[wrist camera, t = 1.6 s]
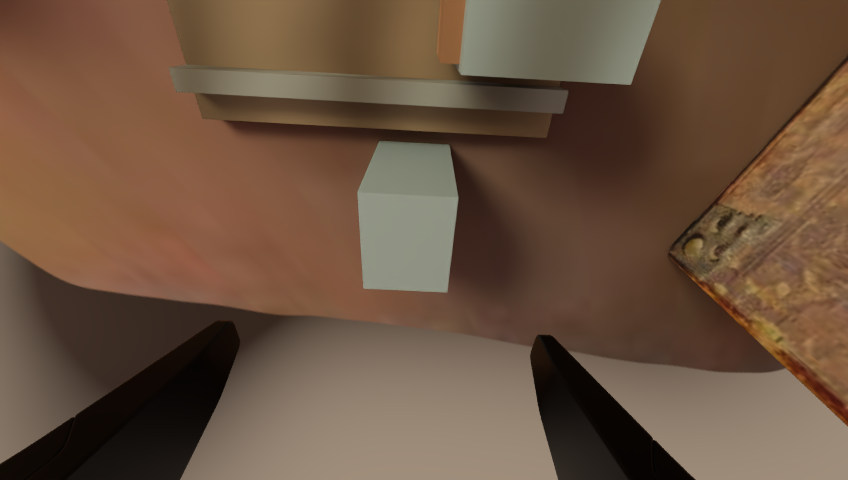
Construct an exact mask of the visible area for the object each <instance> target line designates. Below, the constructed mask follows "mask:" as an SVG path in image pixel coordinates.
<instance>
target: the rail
mask: <svg viewBox="0 0 848 480" xmlns="http://www.w3.org/2000/svg"><path fill="white" fill-rule="evenodd" d="M660 1H661V0H167V2H168V5H169V9H170V12H171V15H172V19H173V22H174V25H175V29H176V32H177V35H178V39H179V42H180V45H181V49H182V52H183V55H184V59H185V62H186V65H181V66H175V67H169V71H170V74H171V77H172V80H173V83H174V86H175V89H176V92H188V93H195V95H196V99H197V102H198V105H199V109H200V112H201V115H202V119H214V120H232V121H250V122H268V123H286V124H304V125H322V126H340V127H358V128H376V129H394V130H412V131H430V132H448V133H466V134H484V135H502V136H520V137H538V138H547V134H548V130H549V126H550V122H551V118H552V114H553V113H558V114H563V111H564V108H565V104H566V100H567V96H568V93H569V91H568V90H566V89H564V88H562V87H560V82H561V81H573V82H590V83H607V84H625V85H631V83H632V80H633V77H634V74H635V72H636V69H637V66H638V63H639V60H640V57H641V55H642V52H643V49H644V46H645V43H646V41H647V38H648V35H649V32H650V29H651V27H652V24H653V21H654V18H655V15H656V13H657V10H658V7H659V4H660Z"/></svg>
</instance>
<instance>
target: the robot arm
mask: <svg viewBox="0 0 848 480" xmlns="http://www.w3.org/2000/svg"><path fill="white" fill-rule="evenodd" d="M239 346H240V338H239V335H238V332H237V329H236V327H235V324H234V322H233V321H231V320H218V321H215V322H213V323H212V324H211V325H209V326H208V327H206V328H205V329H203V330H202V331H200V332H199V333H197V334H196V335H194V336H193V337H191V338H190V339H188V340H187V341H185V342H184V343H182V344H181V345H179V346H178V347H176V348H175V349H174V350H172V351H170V352H169V353H167V354H166V355H164V356H163V357H161V358H160V359H159V360H157V361H155V362H154V363H152V364H151V365H149V366H148V367H147V368H145V369H144V370H142V371H141V372H139V373H138V374H136V375H135V376H133V377H132V378H130V379H129V380H127V381H126V382H124V383H123V384H121V385H120V386H118V387H117V388H115V389H114V390H112V391H111V392H109V393H108V394H106V395H105V396H103V397H102V398H100V399H99V400H97V401H96V402H94V403H93V404H91V405H90V406H89V407H87V408H85V409H84V410H83V411H81V412H80V413H78V414H77V415H76V416H75V417H72V418H70V419H69V420H68V421H66V422H64V423H63V424H62V425H60V426H58V427H57V428H56V429H54V430H53V431H51V432H49V433H48V434H47V435H45V436H44V437H42V438H41V439H39V440H37V441H36V442H34V443H33V444H31V445H30V446H28V447H27V448H25V449H23V450H22V451H20V452H19V453H17V454H15V455H14V456H12V457H11V458H9V459H7V460H6V461H4V462H2V463H1V464H0V480H180V479H181V477H182V475H183V473H184V470H185V469H186V467H187V465H188V463H189V461H190V458H191V457H192V454H193V453H194V451H195V448H196V446H197V444H198V442H199V440H200V438H201V436H202V434H203V432H204V430H205V428H206V426H207V424H208V422H209V420H210V418H211V416H212V414H213V412H214V410H215V408H216V406H217V404H218V402H219V399H220V397H221V395H222V392H223V390H224V387H225V385H226V382H227V379H228V377H229V374H230V371H231V368H232V366H233V363H234V360H235V358H236V355H237V352H238V350H239ZM530 359H531V366H532V372H533V378H534V384H535V389H536V395H537V402H538V407H539V412H540V416H541V420H542V423H543V427H544V430H545V434H546V438H547V441H548V445H549V448H550V452H551V455H552V459H553V462H554V466H555V470H556V473H557V476H558V480H695V479H694V478H693V477H692V476H691V475H690V474H689V473H688V472H687V471H686V470H685V469H684V468H683V467H682V466H681V465H680V464H679V463H678V462H676V460H674V458H672V457H671V456H670V455H669V454H668V453H667V452H666V451H665V450H664V449H663V448H662V447H661V446H660V444H659V443H658V442H657V441H655V440H653V438H652V437H651V436H650V434H649V433H648V432H647V431H646V430H645V429H644V428H643V427H642V426H641V425H640V424H639V423H637V421H636V420H635V419H634V418H633V417H632V416H631V415H630V414H629V413H628V412H627V411H626V410H625V409H624V408H623V407H622V406H621V405H620V404H619V403H618V402H617V401H616V400H615V399H614V398H613V397H612V396H611V395H610V394H609V393H608V392H607V391H606V390H605V389H604V388H603V387H602V386H601V385H600V384H599V383H598V382H597V381H596V380H595V379H594V378H593V377H592V376H591V375H590V374H589V373H588V372H587V371H586V370H585V369H584V368H583V367H582V366H581V365H580V363H579V362H578V361H577V360H575V358H574V357H573V356H572V355H570V353H569V352H568V351H567V350H566V349H565V348H564V347H563V346H562V345H561V344H560V343H559V342H558V341H557V340H556V339H555V338H554V337H553V336H551V335H537V336H536V339H535V342H534V344H533V347H532V350H531V354H530Z"/></svg>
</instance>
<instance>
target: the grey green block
mask: <svg viewBox="0 0 848 480" xmlns="http://www.w3.org/2000/svg"><path fill="white" fill-rule="evenodd" d="M357 193H358V209H359V225H360V241H361V257H362V272H363V288H365V289H386V290H407V291H429V292H447V290H448V281H449V273H450V265H451V256H452V248H453V239H454V231H455V222H456V214H457V205H458V192H457V186H456V181H455V175H454V169H453V163H452V157H451V152H450V146H449V144H431V143H412V142H394V141H379V143H378V145H377V148H376V150H375V152H374V155H373V157H372V159H371V162H370V164H369V166H368V169H367V171H366V174H365V176H364V178H363V181H362V183H361V185H360V188H359V190H358V192H357Z"/></svg>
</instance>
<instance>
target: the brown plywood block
mask: <svg viewBox="0 0 848 480" xmlns="http://www.w3.org/2000/svg"><path fill="white" fill-rule="evenodd" d="M668 257H669V258H670V259H671V260H672V261H673V262H674V263H675V264H677V265H678V266H679V267H680V268H681V269H682V270H683V271H684V272H685V273H686V274H687V275H688V276H689V277H690V278H691V279H692V280H693V281H695V282H696V283H697V284H698V285H699V286H700V287H701V288H702V289H703V290H704V291H705V292H706V293H707V294H708V295H709V296H710V297H711V298H713V299H714V300H715V301H716V302H717V303H718V304H719V305H720V306H721V307H722V308H723V309H724V310H725V311H726V312H727V313H728V314H729V315H731V316H732V317H733V318H734V319H735V320H736V321H737V322H738V323H739V324H740V325H741V326H742V327H743V328H744V329H745V330H746V331H747V332H749V333H750V334H751V335H752V336H753V337H754V338H755V339H756V340H757V341H758V342H759V343H760V344H761V345H762V346H763V347H764V348H765V349H766V350H768V351H769V352H770V353H771V354H772V355H773V356H774V357H775V358H776V359H777V360H778V361H779V362H780V363H781V364H782V365H783V366H784V367H786V368H787V369H788V370H789V371H790V372H791V373H792V374H793V375H794V376H795V377H796V378H797V379H799V381H800V382H801V383H802V384H804V385H805V386H806V387H807V388H808V389H809V390H810V391H811V392H812V393H813V394H814V395H815V396H816V397H818V399H819V400H820V401H822V402H823V403H824V404H825V405H826V406H827V407H828V408H829V409H830V410H831V411H832V412H833V413H834V414H835V415H836V416H837V417H839V418H840V419H841V420H842V421H843V422H844V423H845V424H846V425H847V426H848V56H847V57H846V58H845V59H844V60H843V61H842V62H841V64H840V65H839V66H838V67H837V68H836V69H835V70H834V71H833V72H832V73H831V74H830V75H829V76H828V78H827V79H826V80H825V81H824V82H823V83H822V84H821V85H820V86H819V87H818V88H817V89H816V90H815V92H814V93H813V94H812V95H811V96H810V97H809V98H808V99H807V100H806V101H805V102H804V103H803V104H802V106H801V107H800V108H799V109H798V110H797V111H796V112H795V113H794V114H793V115H792V116H791V117H790V118H789V120H788V121H787V122H786V123H785V124H784V125H783V126H782V127H781V128H780V129H779V130H778V131H777V132H776V133H775V135H774V136H773V137H772V138H771V139H770V140H769V141H768V142H767V143H766V144H765V145H764V146H763V147H762V149H761V150H760V151H759V152H758V153H757V154H756V155H755V156H754V157H753V158H752V159H751V160H750V161H749V163H748V164H747V165H746V166H745V167H744V168H743V169H742V170H741V171H740V172H739V173H738V174H737V175H736V177H735V178H734V179H733V180H732V181H731V182H730V183H729V184H728V185H727V186H726V187H725V188H724V189H723V191H722V192H721V193H720V194H719V195H718V196H717V197H716V198H715V199H714V200H713V201H712V202H711V203H710V205H709V206H708V207H707V208H706V209H705V210H704V211H703V212H702V213H701V214H700V215H699V216H698V217H697V219H696V220H695V221H694V222H693V223H692V224H691V225H690V226H689V227H688V228H687V229H686V230H685V231H684V233H683V234H682V235H681V236H680V237H679V238H678V239H677V240H676V241H675V242H674V243H673V244H672V246H671V247H670V248H669V249H668Z"/></svg>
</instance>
